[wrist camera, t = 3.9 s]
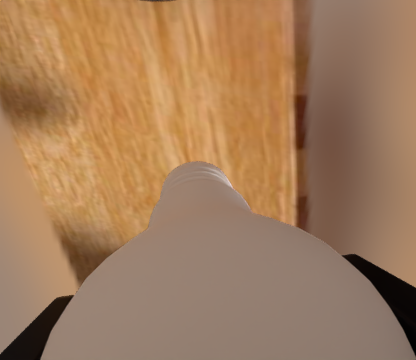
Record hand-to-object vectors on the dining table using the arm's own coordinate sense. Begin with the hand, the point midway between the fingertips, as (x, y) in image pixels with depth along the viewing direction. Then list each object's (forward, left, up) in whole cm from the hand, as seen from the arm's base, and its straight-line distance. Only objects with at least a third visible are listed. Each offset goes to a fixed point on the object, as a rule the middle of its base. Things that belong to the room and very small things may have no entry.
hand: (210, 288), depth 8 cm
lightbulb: (0, 0, -6) cm, 6 cm away
